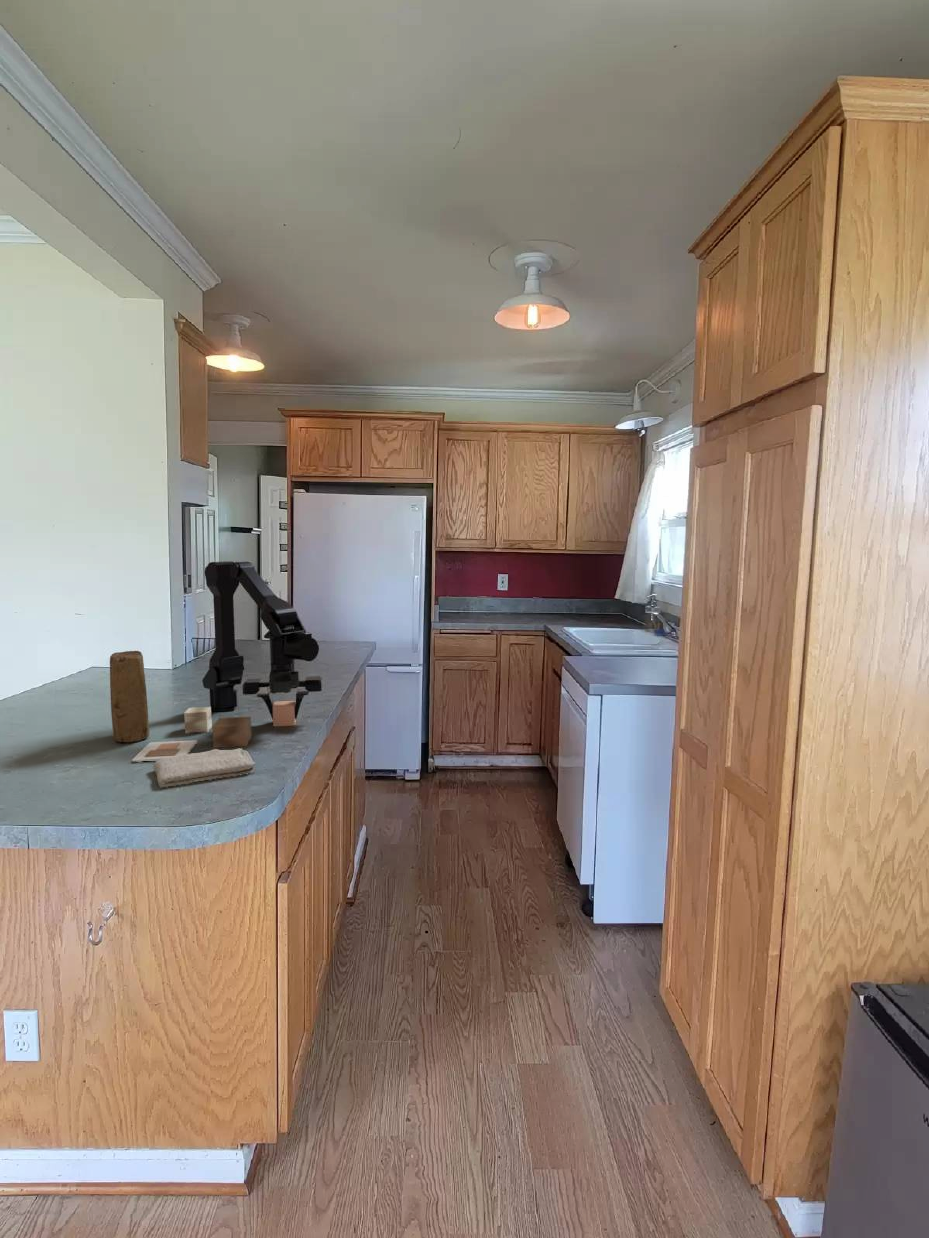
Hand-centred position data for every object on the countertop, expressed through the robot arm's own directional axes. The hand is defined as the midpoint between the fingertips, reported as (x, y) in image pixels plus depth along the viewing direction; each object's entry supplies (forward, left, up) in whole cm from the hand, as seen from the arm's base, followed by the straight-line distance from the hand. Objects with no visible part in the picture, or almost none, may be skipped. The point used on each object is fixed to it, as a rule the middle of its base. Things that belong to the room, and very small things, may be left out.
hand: (284, 719), depth 166 cm
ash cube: (-20, -2, -1) cm, 20 cm away
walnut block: (-10, -14, -1) cm, 17 cm away
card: (-23, -19, -1) cm, 30 cm away
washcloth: (-12, -33, -2) cm, 35 cm away
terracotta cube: (0, 0, -1) cm, 1 cm away
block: (-34, -6, -1) cm, 35 cm away
